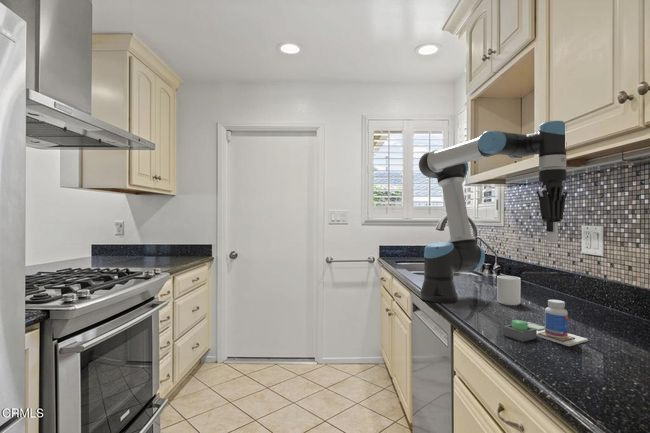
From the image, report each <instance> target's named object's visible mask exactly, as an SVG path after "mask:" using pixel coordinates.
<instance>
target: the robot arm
mask: <svg viewBox="0 0 650 433" xmlns="http://www.w3.org/2000/svg"><path fill="white" fill-rule="evenodd" d="M564 122H565V121H564V120H550V121H549V120H548V121H545V122H542V123H540V124H539V128H538V131H536V132H532V133H527V134H522V133H514V132H506V131H499V130H487V131H484V132H483V133H482V134H480V136H479V137H477V138H474V139H471V140H469V141H465V142H463V143H459V144H456V145H453V146H450V147H447V148H444V149H440V150H439V149H434V150H430V151H428V152H425V153H424V154H422V156H421V157H420V159H419V161H418V168H419V171H420V172H421V174H422V175H423V176H425V177H427V178H431V179H436V180H437V185H438V186H440V187H441V188H442V194H443V200H444V201H443V202H444V206H445V212H446V219H447V224H448V225H447V226H448V229H449V230H448V231H449V236H450V239H449V240H448V241H441V242H431V243H427V245H425V246H424V253H423V258H424V259H423V264H424V265H423V269H424V271H423V275H424V277H423V278H424V279H423V282H422V286H421V289H420V291H419V298H420V299H421V300H423V301H426V302H431V303H439V304H441V303H442V304H450V303H456V302H458V300H459V296H458V292H457V291H456V289H457V288H456V285H455V283H454V282H455V281H454V274H455V273H472V272H476V271H478V270H480V269H481V268H482V266H483V265H484V264H485V260H486V255H485V250H484V248H483V247H482V246H481V245H479V244H478V243H477V239H476V238H475V237H474V236H472V232H471V227H470V220H469V216H468V211H467V210H468V209H467V204H466V199H465V193H464V188H463V183H464V182H465V180H466V176H467V175H468V171H469V162H473V161H477V160H480V159H485V158H488V157H493V156H497V155H499V156H500V155H501V156H502V155H503V156H508V157H509V158H510V159H522V158H524V157H529V156H534V155H538V170H539V171H538V182H540V183H542V185H541V188H540V190H539V189H538V190H536V195H537V198H538V202H539V208H540V209H539V210H540V216H541V217H540V218H541V220H542V222H545V223H546V228H545V229H546V236H545V237H546V243H558V242H559V240H558V239H559V223H562V222H563V219H564V212H565V206H566V205H565V204H566V200H567V199H566V198H567V196H568V191H567V190H565V191H564V188H563V187H564V186H563V182H566V181H567V169H566V168H567V161H568V158H567V148H566V149H565V123H566V122H565V123H564Z"/></svg>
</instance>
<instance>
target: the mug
mask: <svg viewBox="0 0 650 433" xmlns="http://www.w3.org/2000/svg"><path fill="white" fill-rule="evenodd" d="M496 277H497V278H496V301H497V302H498V303H499V304H501V305H506V306H519V305H520V304H521V292H522V290H521V289H522V288H521V283H522V282H521V279H522V278H521V277H518V276H514V275H497V276H496Z"/></svg>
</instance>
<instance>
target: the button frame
mask: <svg viewBox="0 0 650 433" xmlns="http://www.w3.org/2000/svg"><path fill="white" fill-rule="evenodd" d="M502 328H503V329H502V330H503V331H502V334H503V335H502V336H506V337H508V338H511V339H514V340H517V341H519V342H529V341H532V340H535V339H537V336H536V335H537V329H534V328H531V327H528V330H525V331H520V330H517V329H514V328H512V323H511V324H507V325H503V327H502Z"/></svg>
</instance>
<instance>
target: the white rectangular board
mask: <svg viewBox="0 0 650 433" xmlns="http://www.w3.org/2000/svg"><path fill="white" fill-rule="evenodd" d="M526 322H527V323H528V327H531V328H534V329H537V335H536V337H539V338H541V339H545V340H548V341H552V342H554V343H556V344H560V345H563V346H567V347H572V346H576V345H579V344H581V343H586V342H588V341H589V339H588V338H586V337H582V336H578V335H576V334H572V333H568V336H567V338H555V337H551V336H548V335H546V334H545V325H542V324H538V323H534V322H531V321H526Z"/></svg>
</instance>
